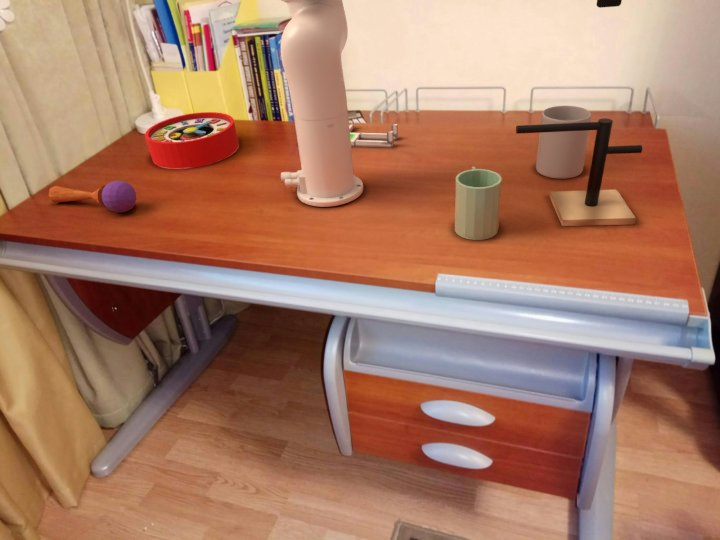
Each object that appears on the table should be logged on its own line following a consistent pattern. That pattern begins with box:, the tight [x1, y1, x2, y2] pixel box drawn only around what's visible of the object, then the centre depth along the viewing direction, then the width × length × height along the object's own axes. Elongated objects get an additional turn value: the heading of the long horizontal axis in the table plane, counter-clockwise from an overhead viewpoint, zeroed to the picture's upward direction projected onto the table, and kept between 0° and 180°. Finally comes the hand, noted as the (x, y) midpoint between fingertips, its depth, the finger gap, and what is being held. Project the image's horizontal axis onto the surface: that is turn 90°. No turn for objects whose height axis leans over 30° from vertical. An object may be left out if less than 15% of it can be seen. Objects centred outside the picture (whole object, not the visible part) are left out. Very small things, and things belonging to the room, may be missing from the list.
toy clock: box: [144, 111, 240, 170], centre depth 127 cm, size 20×6×20 cm
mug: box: [535, 105, 592, 180], centre depth 103 cm, size 12×8×11 cm
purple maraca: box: [48, 180, 137, 214], centre depth 106 cm, size 6×6×20 cm
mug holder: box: [515, 117, 643, 227], centre depth 87 cm, size 19×10×15 cm, turn 85°
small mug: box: [454, 165, 503, 241], centre depth 88 cm, size 11×7×9 cm, turn 175°
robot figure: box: [349, 123, 399, 149], centre depth 124 cm, size 16×3×22 cm
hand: (598, 0), depth 82 cm, fingers open, 9 cm apart
